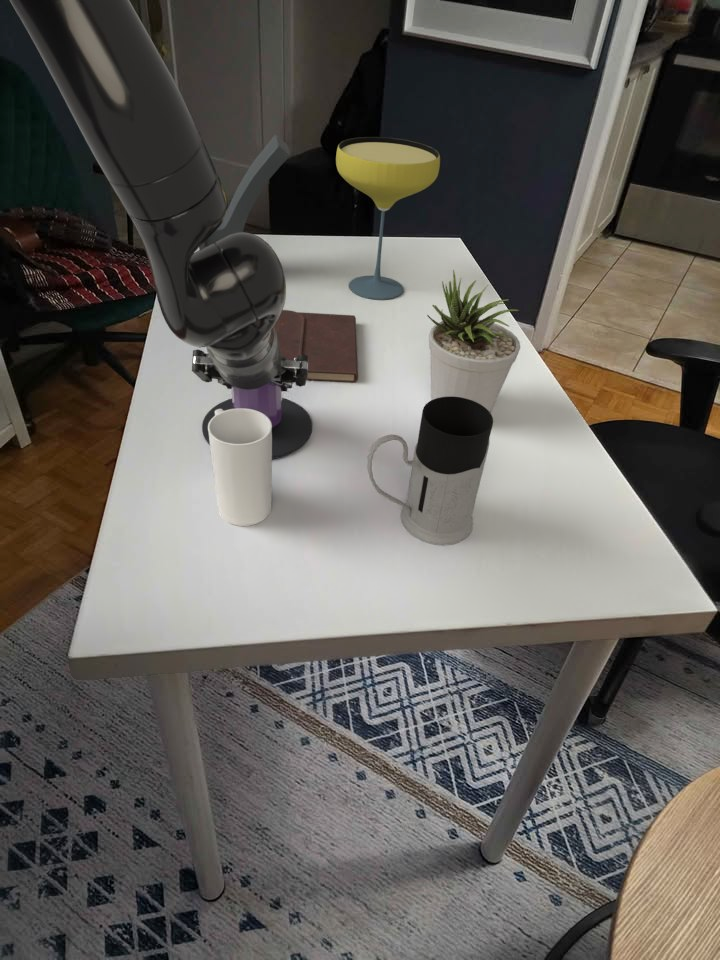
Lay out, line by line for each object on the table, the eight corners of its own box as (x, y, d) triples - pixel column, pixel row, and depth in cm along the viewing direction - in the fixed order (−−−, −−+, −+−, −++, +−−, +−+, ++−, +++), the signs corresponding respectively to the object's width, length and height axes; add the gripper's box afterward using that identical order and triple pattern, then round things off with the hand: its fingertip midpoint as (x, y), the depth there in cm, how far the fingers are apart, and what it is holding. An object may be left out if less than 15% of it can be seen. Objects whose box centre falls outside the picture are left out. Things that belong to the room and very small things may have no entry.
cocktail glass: (341, 264, 135) (349, 132, 119) (427, 277, 133) (446, 144, 117) (320, 299, 121) (325, 155, 105) (414, 314, 119) (434, 170, 103)
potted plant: (475, 378, 104) (502, 255, 91) (517, 427, 94) (554, 297, 81) (403, 386, 100) (420, 260, 87) (438, 438, 90) (463, 304, 77)
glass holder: (486, 536, 76) (515, 433, 66) (374, 562, 72) (387, 455, 62) (452, 489, 82) (474, 388, 72) (347, 510, 78) (356, 406, 68)
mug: (284, 515, 76) (283, 433, 68) (232, 536, 73) (225, 452, 65) (244, 468, 82) (240, 388, 75) (195, 485, 79) (185, 403, 71)
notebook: (355, 323, 115) (356, 313, 114) (357, 382, 100) (358, 371, 99) (270, 319, 114) (270, 308, 113) (260, 378, 99) (259, 366, 98)
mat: (215, 469, 82) (214, 466, 81) (193, 405, 92) (192, 402, 92) (327, 449, 87) (327, 446, 86) (294, 390, 97) (294, 388, 97)
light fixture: (290, 283, 126) (291, 147, 111) (199, 282, 123) (187, 143, 108) (287, 261, 134) (287, 131, 119) (201, 260, 132) (189, 127, 116)
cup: (240, 434, 85) (236, 374, 79) (229, 407, 89) (224, 349, 84) (287, 426, 87) (287, 367, 81) (274, 400, 91) (273, 343, 86)
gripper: (311, 316, 71) (312, 358, 87) (178, 309, 70) (205, 352, 86) (309, 384, 70) (310, 412, 87) (174, 378, 69) (202, 408, 86)
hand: (257, 382), depth 87 cm, fingers closed on cup, 6 cm apart
